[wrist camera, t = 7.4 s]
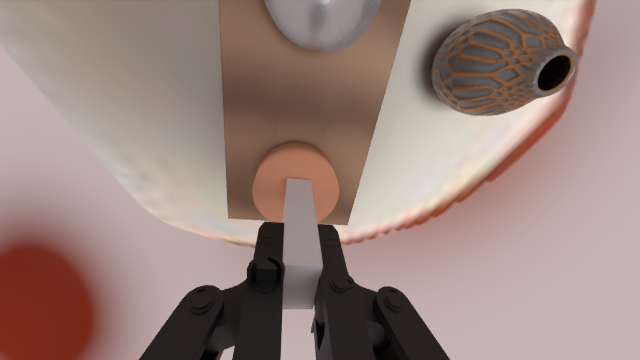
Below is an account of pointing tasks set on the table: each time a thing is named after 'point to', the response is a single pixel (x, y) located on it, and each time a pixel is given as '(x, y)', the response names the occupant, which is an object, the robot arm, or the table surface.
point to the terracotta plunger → (297, 165)
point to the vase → (501, 63)
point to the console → (300, 98)
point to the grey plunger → (323, 21)
